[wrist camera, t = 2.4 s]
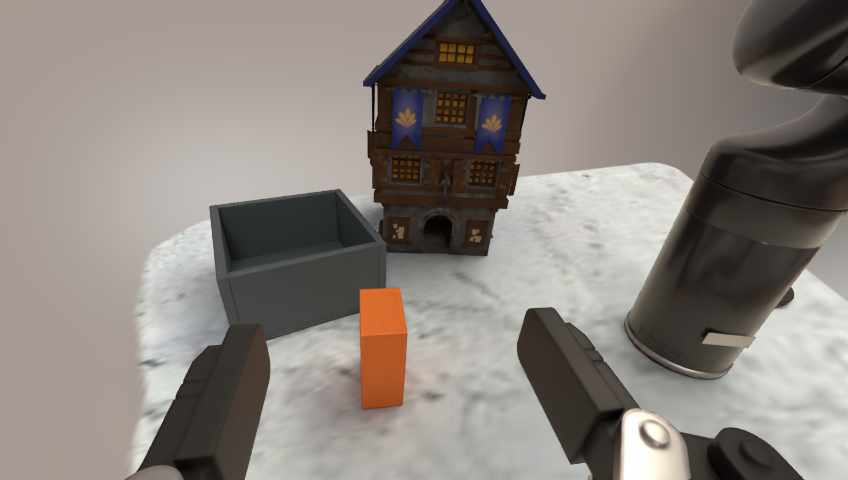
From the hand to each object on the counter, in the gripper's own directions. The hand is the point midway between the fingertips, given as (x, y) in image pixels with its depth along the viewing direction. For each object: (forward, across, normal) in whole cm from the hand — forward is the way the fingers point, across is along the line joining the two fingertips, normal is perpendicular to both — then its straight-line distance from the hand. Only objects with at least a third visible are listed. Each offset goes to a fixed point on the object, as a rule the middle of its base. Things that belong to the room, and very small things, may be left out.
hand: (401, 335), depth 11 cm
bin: (+26, +8, +18) cm, 32 cm away
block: (+12, 0, +18) cm, 21 cm away
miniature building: (+38, -9, +18) cm, 42 cm away
